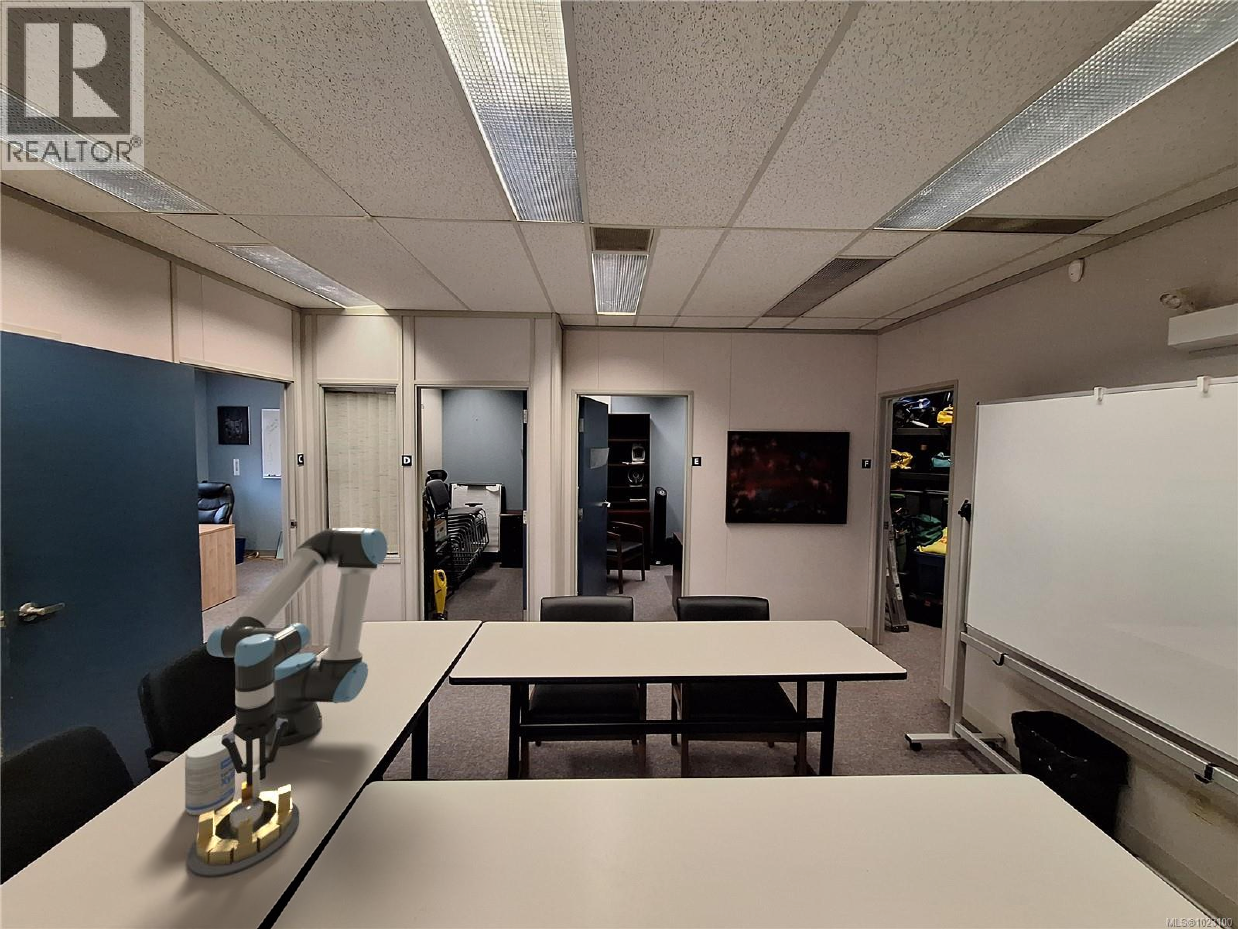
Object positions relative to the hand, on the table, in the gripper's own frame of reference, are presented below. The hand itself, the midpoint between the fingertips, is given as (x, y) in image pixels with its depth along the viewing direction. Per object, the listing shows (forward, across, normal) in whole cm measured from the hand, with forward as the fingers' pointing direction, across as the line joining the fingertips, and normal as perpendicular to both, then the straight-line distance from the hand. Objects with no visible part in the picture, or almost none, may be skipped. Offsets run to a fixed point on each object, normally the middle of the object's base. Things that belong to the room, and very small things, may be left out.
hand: (256, 793), depth 112 cm
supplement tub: (+5, +9, -11) cm, 15 cm away
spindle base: (+5, +2, +7) cm, 9 cm away
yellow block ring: (+4, +2, +7) cm, 8 cm away
